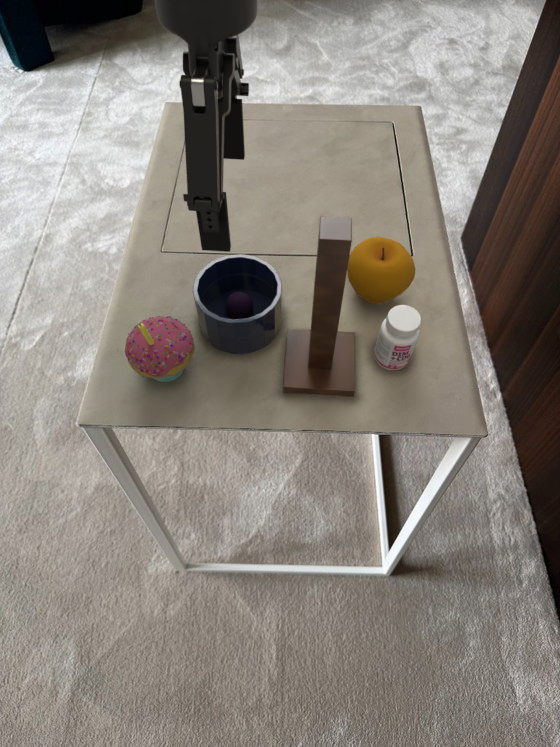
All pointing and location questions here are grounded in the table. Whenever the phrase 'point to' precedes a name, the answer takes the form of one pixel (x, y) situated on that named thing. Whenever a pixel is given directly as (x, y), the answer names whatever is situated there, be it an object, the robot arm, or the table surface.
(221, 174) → the robot arm
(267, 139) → the table surface
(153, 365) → the cupcake
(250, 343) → the pot
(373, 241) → the apple
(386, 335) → the pill bottle
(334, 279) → the stand
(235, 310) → the purple plum
